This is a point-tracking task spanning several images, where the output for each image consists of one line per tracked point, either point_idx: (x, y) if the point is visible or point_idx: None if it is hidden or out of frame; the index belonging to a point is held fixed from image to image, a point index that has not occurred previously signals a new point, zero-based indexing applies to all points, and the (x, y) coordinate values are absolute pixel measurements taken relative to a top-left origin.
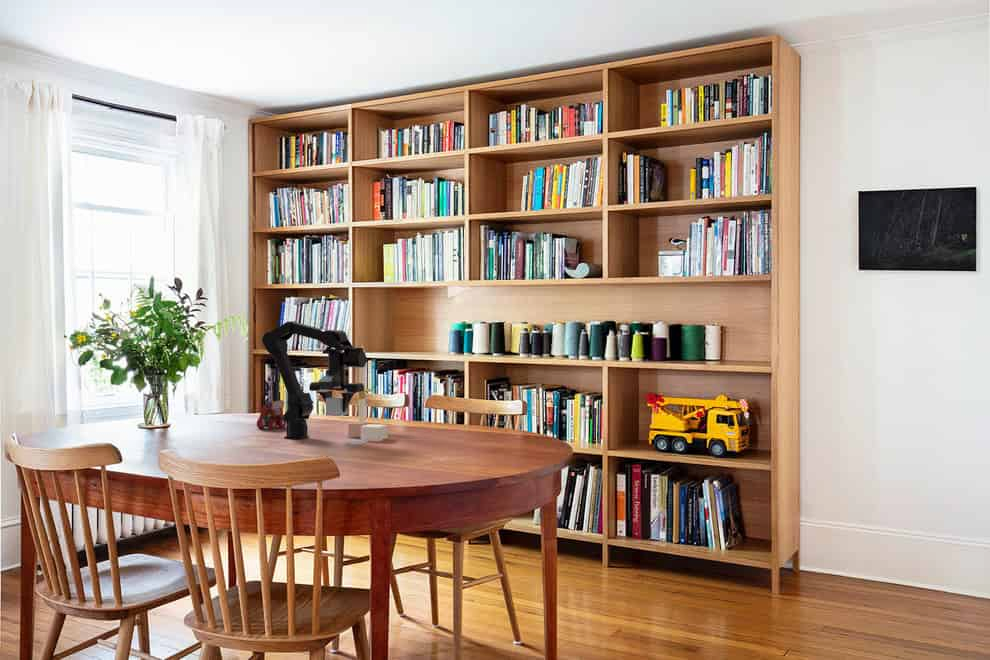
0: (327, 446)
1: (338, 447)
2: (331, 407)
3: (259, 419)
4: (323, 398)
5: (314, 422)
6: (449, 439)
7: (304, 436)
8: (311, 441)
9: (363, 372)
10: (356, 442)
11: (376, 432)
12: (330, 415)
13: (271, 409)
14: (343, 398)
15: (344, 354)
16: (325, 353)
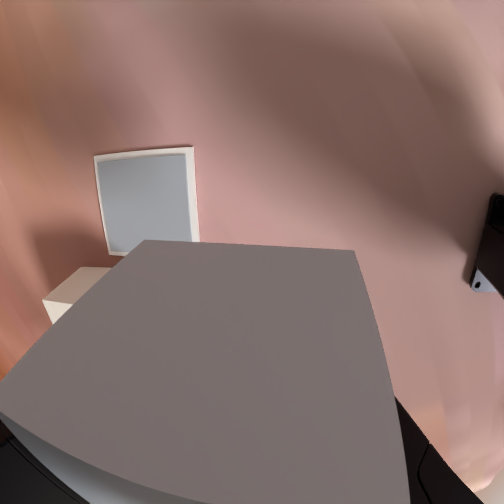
0: (210, 17)
1: (138, 26)
2: (238, 315)
3: None
4: (468, 494)
5: (464, 470)
6: (7, 340)
7: (482, 235)
8: (409, 149)
9: None
10: (113, 170)
11: (67, 288)
12: (277, 246)
13: None
14: (3, 431)
15: None
16: None
